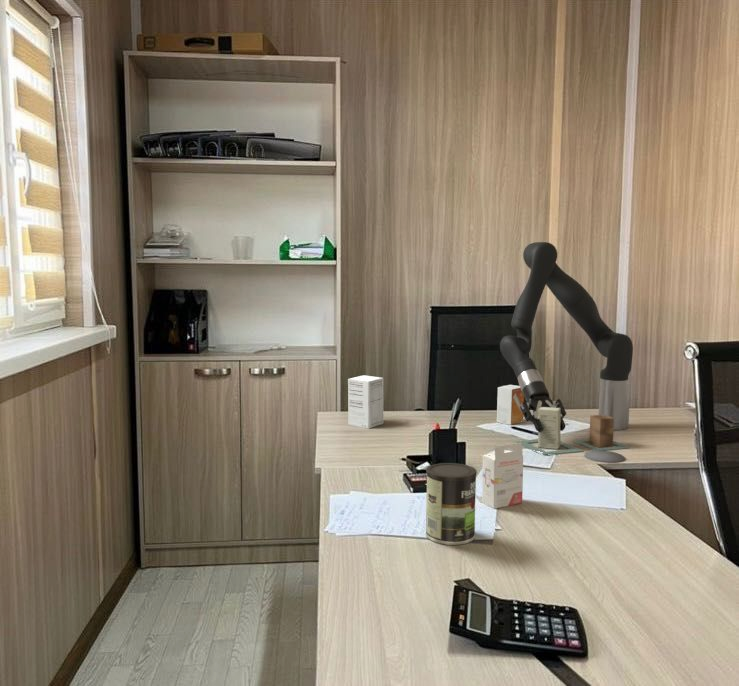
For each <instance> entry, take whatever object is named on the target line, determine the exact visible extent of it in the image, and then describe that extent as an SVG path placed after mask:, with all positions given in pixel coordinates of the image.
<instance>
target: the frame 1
mask: <svg viewBox="0 0 739 686" xmlns="http://www.w3.org/2000/svg"><path fill="white" fill-rule="evenodd" d="M516 443H522V447H525V448H526V449H529V450H530V449H532V450H531V451H533V450H535V451H540V452H543V453H542V454H543V455H547V456H549V455H548V454H555V455H564V454H566V455H567V454H573V453H574V454H575V453H585V450H584V449H582V448H578V447H576V446H574V445H571V444H569V443H567V442H564V441H562V440H560V447H563V448H566V449H557V450H548V451H546V450H544V449H543V448H541V447H537V446H535V445H533V444H538V438H537V439H527V440H516V441H515V444H516ZM535 451H534V452H535ZM543 455H542V456H543ZM555 455H554V456H555Z"/></svg>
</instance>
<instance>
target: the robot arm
mask: <svg viewBox="0 0 739 686" xmlns="http://www.w3.org/2000/svg"><path fill="white" fill-rule="evenodd" d="M522 256H523V261H524V264H525V265H526V266H527V267H528V268H529V269H530V273H529V276H528V280H527V282H526V285H525V287H524V288H523V291H522V292H521V294H520V295H519V297H518V299H517V302H516V304H515V308H514V311H513V314H512V319H511V322H510V323H511V324H510V325H511V327H512V328H513V329H515V330H516V335H511V334H510V335H505V336H503V337H502V338H501V340H500V342H499V350H500V352H501V355H502V357H503V359H505V360H506V362H507V364H508V365H509V366H510V367H511V368H512V369H513V372H514V374H515V376H516V378H517V381H518V386H520V388H521V390H522V393H523V395H524V401H523V403H522V404H521V405H520V408H521V411H522V413H523V418H524V420H525V421H526V422H531V423H533V426H534V429H535V430H536V431H537V433H538V432H542V431H543V427H542V424H541V422H540V420H539V419H538V409H539V408H541V407H551V408H561V425H560V432H561V431H564V430H565V429H566V426H567V425H566V423H565V421H564V418H565V417H566V416H567V411H566V410H565V407H564V405H563V403H562V400H561V399H559V398H558V399H557V400H552V399H551V397H550V393H549V390H548V388H547V386H546V383H545V382H544V380H543V377H542V376H541V374H540V373H539V370H538V369H537V366H536V364H535V362H534V361H533V359H532V358H531V357H529V356H528V355H529V354H530V353H531V350H532V345H533V341H532V339H533V338H532V337H533V324H534V321H535V318H536V315H537V314H536V313H537V311H538V307H539V304H540V300H541V297H542V295H543V293H544V290H545V287H546V286H547V288H548V289H549V290H550V292H551V293H552V294H553V296H554V297H555V298H556V300H557V301H558V302H559V303H560V305H561V306H562V307H563V308H564V310H565V311H566V312H567V314H569V316H570V317H571V318H572V319H573V320H574V321H575V322H576V323H577V324H578V325H579V327H580V328H581V329H582V330H583V331H584V333H585V334H586V335H587V336H588V338H589V339H590V340H591V342H592V343H593V345H594V347H595V349H596V350H597V351H598V353H600V355H601V356H603V357H605V359H606V366H605V367H604V368H602V369H601V370H600V372H599V374H600V375H599V396H598V397H599V399H598V415H606V416H609V417H612V418H614V430H613V431H622V430H626V429H629V421H630V403H631V402H630V401H629V400H628V396H629V395H628V393H629V391H628V390H629V389H628V388H629V376H630V374H631V371H632V367H633V366H632V365H633V364H632V363H633V357H634V355H633V354H634V345H633V340H632V339H631V338H630V336H629V335H627V334H624V333H620V332H616V331H613V330H612V328H610V327H609V326H608V325H607V324H606V322H605V321H604V320H603V319H602V317H601V315H600V313H599V308H598V306H597V304H596V301H595V299H594V298H593V297H592V296H591V294H590V293H589V292H588V291H587V290H586V288H585V287H584V286H583V285H582V284H581V283H579V282H578V281H577V280H575V279H574V278H573V277H572V276H571V275H569V274H568V273H566V272H565V271H563V270H562V268H561V267H560V266H559V265H558V263H557V260H558V250H557V248H556V246H555V245H554V244H553V243H551V242H549V241H548V242H547V241H536V242H532V243H531V242H530V243H529V244H527V246H525V248H524V249H523V253H522ZM530 409H531V410H530ZM531 411H532V412H531Z"/></svg>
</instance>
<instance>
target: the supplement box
mask: <svg viewBox="0 0 739 686" xmlns="http://www.w3.org/2000/svg"><path fill="white" fill-rule="evenodd" d="M347 386H348V387H347V391H348V393H347V394H348V395H347V399H348V400H347V401H348V402H347V404H348V405H347V406H348V407H347V408H348V410H347V412H348V413H347V415H348V416H347V417H348V418H347V419H348V420H347V421H348V423H347V424H348V426H351V427H356V428H362V429H367V430H368V429H372V428H374V427H378V426H380V425H383V424H384V377H381V376H371V375H359V376H355V377H351V378H348V379H347Z"/></svg>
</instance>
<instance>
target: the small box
mask: <svg viewBox="0 0 739 686" xmlns="http://www.w3.org/2000/svg"><path fill="white" fill-rule="evenodd" d="M496 400H497V401H496V402H497V403H496V404H497V405H496V423H500V424H504V425H510V426H512V425H515V423H516V424H519V423H518V422H520V423H522V422H521V421H523V422H524V415H523V413H522V411H521V408H520V405H521V404H522V403H523V401H525V397H524V395H523V393H522V390H521V388H520V385H514V384H507V385H501V386H498V387H497V397H496Z"/></svg>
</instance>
